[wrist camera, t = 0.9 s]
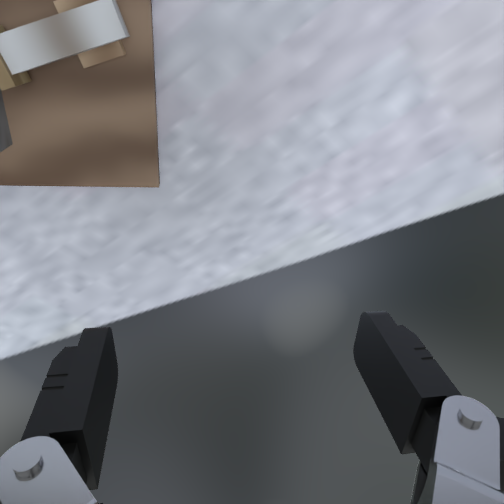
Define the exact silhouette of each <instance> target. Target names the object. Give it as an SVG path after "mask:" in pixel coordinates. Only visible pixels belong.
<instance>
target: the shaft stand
mask: <svg viewBox="0 0 504 504" xmlns="http://www.w3.org/2000/svg"><path fill="white" fill-rule="evenodd" d="M159 184H160V180H159V158H158V136H157V114H156V92H155V70H154V48H153V26H152V4H151V0H0V185H13V186H91V187H159Z"/></svg>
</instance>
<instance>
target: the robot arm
mask: <svg viewBox="0 0 504 504" xmlns="http://www.w3.org/2000/svg"><path fill="white" fill-rule="evenodd" d="M353 353H354V360H355V363H356V366H357V368H358V370H359V372H360V374H361V376H362V378H363V379H364V382H365V384H366V385H367V387H368V389H369V392H370V393H371V395H372V397H373V399H374V401H375V403H376V405H377V407H378V409H379V411H380V413H381V415H382V417H383V419H384V421H385V423H386V425H387V427H388V429H389V431H390V433H391V435H392V437H393V439H394V441H395V443H396V445H397V446H398V449H399V451H400V453H401V454H408V453H416V454H417V456H418V457H419V459H420V461H419V463H418V466H417V471H416V476H415V481H414V486H413V492H412V497H411V502H410V504H504V418H498V417H495V415H494V414H493V413H492V412H491V411H490V410H489V409H488V408H487V407H486V406H485V405H483V404H482V403H480V402H478V401H477V400H474V399H472V398H469V397H466V396H462V395H461V394H460V392H459V391H458V390H457V388H456V387H455V386H454V384H453V383H452V382H451V380H450V379H449V378H448V376H447V375H446V374H445V372H444V371H443V370H442V368H441V367H440V366H439V364H438V363H437V362H436V360H433V357H432V355H431V354H430V352H429V351H428V350H426V349H425V346H424V345H423V343H422V342H421V341H420V339H419V338H418V337H417V336H416V335H415V334H414V333H413V332H411V331H410V330H409V329H407V328H406V327H404V326H403V325H399V326H397V324H396V323H395V321H394V320H393V319H392V317H391V316H390V314H389V313H388V312H387V311H375V312H364V313H362V314H361V317H360V321H359V325H358V330H357V334H356V339H355V343H354V350H353ZM117 383H118V363H117V357H116V351H115V345H114V339H113V333H112V329H111V328H110V327H99V328H85V329H84V330H83V332H82V335H81V338H80V341H79V344H78V346H74V347H65V348H64V349H63V350H62V351H61V352H60V353H59V354H58V355H57V356H56V357H55V358H54V360H52V363H51V366H50V368H49V371H48V373H47V378H46V379H45V381H44V383H43V386H42V391H40V394H39V396H38V399H37V401H36V404H35V406H34V409H33V412H32V414H31V416H30V419H29V421H28V424H27V426H26V429H25V431H24V434H23V436H22V439H21V441H20V442H19V443H17V444H16V445H14V446H13V447H11V448H10V449H9V450H8V451H6V453H4V455H2V457H1V458H0V504H99V503H98V502H97V501H96V500H95V498H94V497H93V495H92V494H91V492H90V491H89V490H95V489H98V485H99V479H100V474H101V469H102V463H103V458H104V452H105V447H106V442H107V436H108V431H109V425H110V420H111V415H112V409H113V404H114V399H115V394H116V389H117ZM101 504H103V503H101Z"/></svg>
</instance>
